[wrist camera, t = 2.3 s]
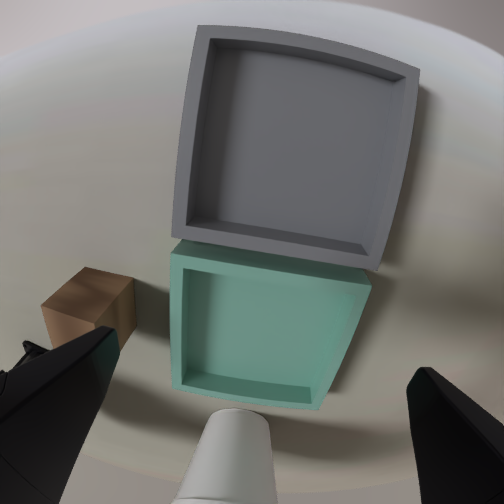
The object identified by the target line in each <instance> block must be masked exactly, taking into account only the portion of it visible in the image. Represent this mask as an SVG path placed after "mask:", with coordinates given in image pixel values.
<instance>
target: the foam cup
mask: <svg viewBox="0 0 504 504" xmlns="http://www.w3.org/2000/svg"><path fill="white" fill-rule="evenodd" d="M170 504H278V501H277V491H276V483H275V474H274V465H273V457H272V448H271V439H270V430H269V423H268V422H267V421H266V420H265V418H264V417H263V416H261V415H259V414H257V413H254V412H252V411H249V410H243V409H238V408H232V409H221V410H219V411H216V412H214V413H212V414H211V416H210V417H209V419H208V422H207V423H206V425H205V428H204V430H203V433H202V435H201V437H200V440H199V442H198V445H197V447H196V449H195V452H194V454H193V457H192V459H191V461H190V464H189V466H188V468H187V471H186V473H185V475H184V478H183V480H182V482H181V485H180V487H179V489H178V492H177V494H176V496H175V499H174V500H173V501H172V502H171V503H170Z"/></svg>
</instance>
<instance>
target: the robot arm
mask: <svg viewBox="0 0 504 504" xmlns="http://www.w3.org/2000/svg"><path fill="white" fill-rule="evenodd" d="M22 344H23V347H24V349H25V352H26V354H25V355H24V356H23V357H22V358H21V359H20V360H19V362H18V363H17V364H16V365H15V366H14V367H13V369H11V370H9V371H8V372H4V371H3V369H2V370H1V371H0V504H59V502H60V499H61V496H62V494H63V491H64V489H65V486H66V484H67V481H68V479H69V476H70V474H71V471H72V469H73V467H74V464H75V462H76V459H77V457H78V455H79V453H80V450H81V448H82V446H83V443H84V441H85V439H86V437H87V434H88V432H89V430H90V428H91V426H92V424H93V421H94V419H95V417H96V415H97V413H98V411H99V409H100V407H101V404H102V402H103V400H104V398H105V395H106V392H107V389H108V386H109V384H110V381H111V378H112V375H113V372H114V370H115V367H116V364H117V361H118V359H119V355H120V347H119V341H118V335H117V331H116V329H115V328H113V327H109V326H105V325H102V326H100V327H98V328H96V329H94V330H91V331H89V332H87V333H85V334H83V335H81V336H79V337H77V338H75V339H73V340H71V341H69V342H67V343H65V344H63V345H61V346H59V347H57V348H55V349H52V350H50V351H46V350H44V349H42V348H40V347H38V346H36V345H33V344H31V343H29V342H27V341H24V342H23V343H22ZM406 393H407V401H408V410H409V420H410V429H411V436H412V442H413V447H414V453H415V459H416V465H417V471H418V478H419V486H420V494H421V503H422V504H504V426H503V424H502V423H501V422H499V421H498V420H497V419H496V418H494V417H493V416H492V415H491V414H489V413H488V412H487V411H486V410H484V409H483V408H482V407H481V406H479V405H478V404H477V403H476V402H474V401H473V400H472V399H471V398H469V397H468V396H467V395H466V394H464V393H463V392H462V391H461V390H459V389H458V388H457V387H456V386H454V385H453V384H452V383H451V382H449V381H448V380H447V379H445V378H444V377H443V376H442V375H440V374H439V373H438V372H437V371H435V370H434V369H433V368H431V367H420V368H419V369H417V371H416V372H415V374H414V376H413V377H412V379H411V381H410V382H409V384H408V386H407V390H406Z"/></svg>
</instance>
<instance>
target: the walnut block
mask: <svg viewBox="0 0 504 504" xmlns="http://www.w3.org/2000/svg"><path fill="white" fill-rule="evenodd" d="M41 308H42V312H43V316H44V319H45V323H46V326H47V330H48V333H49V336H50V339H51V343H52V346H53V349H55V348H57V347H59V346H61V345H63V344H65V343H67V342H69V341H71V340H73V339H75V338H77V337H79V336H81V335H83V334H85V333H87V332H89V331H91V330H94V329H96V328H98V327H100V326H102V325H105V326H109V327H113V328H115V329H116V331H117V335H118V341H119V347H120V351H121V350H122V348H123V346H124V345H125V343H126V342H127V340H128V339H129V337H130V335H131V334H132V332H133V331H134V329H135V328H136V326H137V322H136V310H135V296H134V279H133V278H132V277H128V276H123V275H118V274H114V273H109V272H105V271H101V270H96V269H92V268H88V267H84V268H83V269H82V270H81V271H80V272H78V273H77V274H76V275H75V276H74V277H72V278H71V279H70V280H69V281H68V282H67V283H65V284H64V285H63V286H62V287H61V288H60V289H58V290H57V291H56V292H55V293H54V294H53V295H52V296H51V297H49V298H48V299H47V300H46V301H45V302H44V303H43V304H42V305H41Z"/></svg>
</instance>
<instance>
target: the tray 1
mask: <svg viewBox="0 0 504 504" xmlns="http://www.w3.org/2000/svg"><path fill="white" fill-rule="evenodd" d="M419 76H420V69H418V68H416V67H413V66H411V65H408V64H406V63H403V62H400V61H398V60H395V59H392V58H389V57H386V56H383V55H380V54H377V53H374V52H371V51H368V50H365V49H361V48H358V47H354V46H351V45H347V44H343V43H339V42H335V41H331V40H327V39H322V38H317V37H313V36H307V35H302V34H296V33H290V32H284V31H277V30H269V29H261V28H250V27H238V26H218V25H198V27H197V32H196V36H195V41H194V46H193V52H192V57H191V62H190V68H189V74H188V80H187V86H186V93H185V99H184V106H183V113H182V121H181V129H180V137H179V146H178V155H177V165H176V176H175V187H174V201H173V216H172V234H171V237H174V238H180V239H186V240H192V241H198V242H205V243H211V244H217V245H223V246H229V247H235V248H241V249H247V250H253V251H260V252H266V253H272V254H278V255H284V256H290V257H296V258H302V259H308V260H314V261H320V262H326V263H332V264H338V265H344V266H350V267H356V268H363V269H369V270H375V271H377V270H378V267H379V264H380V261H381V258H382V255H383V252H384V249H385V245H386V242H387V239H388V235H389V232H390V228H391V225H392V221H393V217H394V214H395V210H396V206H397V202H398V198H399V194H400V190H401V186H402V181H403V177H404V172H405V168H406V163H407V158H408V153H409V147H410V142H411V136H412V130H413V124H414V117H415V110H416V103H417V95H418V86H419Z"/></svg>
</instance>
